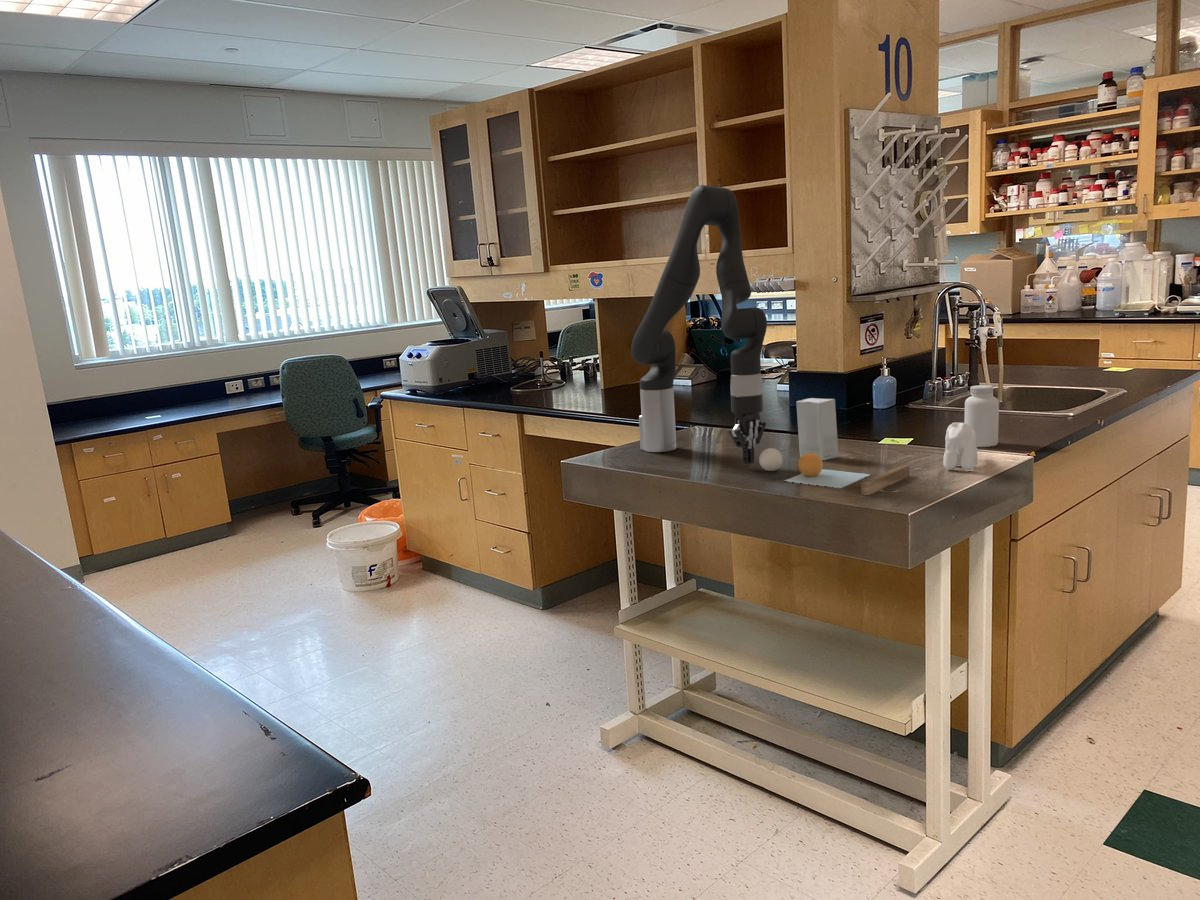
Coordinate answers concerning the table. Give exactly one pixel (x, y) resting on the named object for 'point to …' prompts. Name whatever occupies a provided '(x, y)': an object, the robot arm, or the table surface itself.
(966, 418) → the pill bottle
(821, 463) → the object ball
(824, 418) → the skincare box
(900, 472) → the stopper bar
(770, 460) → the cue ball
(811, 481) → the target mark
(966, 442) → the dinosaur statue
